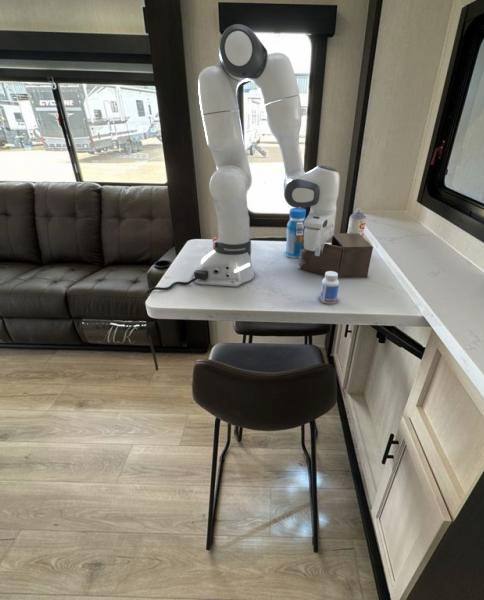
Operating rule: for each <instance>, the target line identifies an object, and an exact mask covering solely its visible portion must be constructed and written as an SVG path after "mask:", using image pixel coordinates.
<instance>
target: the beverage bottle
mask: <svg viewBox="0 0 484 600" xmlns="http://www.w3.org/2000/svg"><path fill="white" fill-rule="evenodd" d="M288 216H289V220H288V221H287V224H286V244H285V255H286V256H287V257H288V258H292V259H299V258H300V250H302V241H303V239H304V232H305V228H306V227H305V226H304V221H305V219H306V216H307V209H306V208H304V207H302V208H295V207H291V208H290V209H289V215H288Z"/></svg>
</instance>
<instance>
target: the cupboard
mask: <svg viewBox="0 0 484 600" xmlns="http://www.w3.org/2000/svg"><path fill="white" fill-rule="evenodd" d="M330 245H335V246H340V247H343V248H342V254H341V261H340V267H339V274H338V279H352V278H353V279H356V278H357V279H360V278H361V279H363V278H365V279H366V278H368V274H369V271H370V270H369V268H370V265H371V260H372V255H373V250H374V246H373V245H372V244H371V243H370V242H369V241H368V240H367V239H365V237H364V236H363V237H362V236H361V235H360V234H359V233H347V232H343V233H339V232H338V233H337V232H334V235H333V237H331V244H330Z"/></svg>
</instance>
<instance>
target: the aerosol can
mask: <svg viewBox="0 0 484 600" xmlns="http://www.w3.org/2000/svg"><path fill="white" fill-rule="evenodd" d="M366 220H367V216H366V215H365V213H364V212H363V211H362V207H361V208H360V207H358V208H357V209H356V210H355V211H354V212H352V214H350V216H349V220H348V227H347V232H346V233H359V234H360V235H361V236H362V237H363V238H364V232H365V228H366V227H365V226H366Z"/></svg>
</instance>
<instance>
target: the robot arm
mask: <svg viewBox="0 0 484 600" xmlns="http://www.w3.org/2000/svg"><path fill="white" fill-rule="evenodd" d="M218 57H219V60H218V63H216V64H215V65H211V66H210V65H209V66H207V67H205V68H203V69H202V70H201V71H200V73H199V75H198V79H197V87H198V90H197V91H198V98H199V100H198V101H199V107H200V114H201V118H202V125H203V130H204V135H205V140H206V144H207V145H206V146H207V147H208V149H209V150H210V153H211V156H212V158H213V161H214V163H215V167H216V170H215V171H214V172H213V173H212V175H211V178H210V179H209V185H208V186H209V187H208V189H209V194H210V196H211V197H212V202H213V206H214V209H215V214H216V221H217V235H218V237H217V236H214V237H213V238H212V250H210V251H209V252H208V253H206V254H205V255H203V257H202V258H201V260H200V262H199V267H197V268H196V269H195V271H193V278H192V279H190V280H189V281H174V282H172V283H171V284H170V285H169V286H165V287H163V286H162V287H160V286H154V287H150V288H148V290H146V292H145V293H146V294H150V293H151V292H153V291H168V290H170V289H172V288H174V286H176V285H183V286H187V285H190V284H192V283H193V282H195V283H196V284H198V285H206V286H207V285H209V286H221V287H235V288H236V287H239V286H240V285H242V284H244V283H247V282H249V281H252V279H253V278H254V277H255V272H254V269H253V265H252V257H251V256H252V240H251V237H250V216H249V215H250V214H249V208H248V198H247V195H248V191H249V190H250V188H251V186H252V181H253V178H252V172H251V168H250V162H249V158H248V154H247V150H246V145H245V142H244V135H243V129H242V123H241V115H240V109H239V102H238V89H239V88H241V87H243V86H245V85H247V84H249V83H250V82H252V83H254V85H255V86H256V88H257V90H258V93H259V96H260V101H261V106H262V110H263V114H264V117H265V120H266V123H267V126H268V129H269V130H270V132H271V134H272V135H273V137H274V139H275V140H276V141H277V144H278V146H279V149H280V153H281V157H282V162H283V166H284V171H285V172H284V173H285V175H284V182H283V196H284V200H285V202H286V203H287V204H288V205H289V206H290V207H291V208H308V207H310V209H309V212H308V215H306V216H307V217H305V219H304V220H305V221H304V226H305V227H306V228H305V232H304V248H305V249H306V250H309V251H315V256H319V255H321V254H322V251H323V247H324V245H325V244H326V242H327V241H329V240H330V239H332V237H333V235H334V233H335V227H336V217H337V210H338V209H337V200H338V198H339V193H340V183H341V182H340V180H341V179H340V178H341V177H340V173H339V171H338V170H337V169H336V168H334V167H332V166H329V165H323V164H322V165H321V164H319V165H316V167H314V168H313V169H311V170H309V171H307V172H306V170H305V168H304V165H303V159H302V154H301V147H300V132H301V127H302V106H301V105H302V104H301V96H300V92H299V85H298V82H297V78H296V74H295V71H294V68H293V65H292V62H291V59H290V58H289V56H287V55H286V54H284V53H282V52H272V53H268V50H267V47H265V45H264V44H263V43H262V42H261V40H260V39H259V37H258V36H257V34H256V33H255V32H254V31H253V30H252V29H251V28H249V27H248V26H247V25H244V24H240V23H235V24H231V25H230V26H228V27H227V28H226V29H225V30H224V31H223V33H222V34H221V37H220V39H219V43H218ZM147 338H148V342H149V346H150V351H151V354H152V358H153V362H154V366H155V367H154V368H155V371H159V365H158V359H157V355H156V351H155V347H154V344H153V341H152V335H151V334H147Z"/></svg>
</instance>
